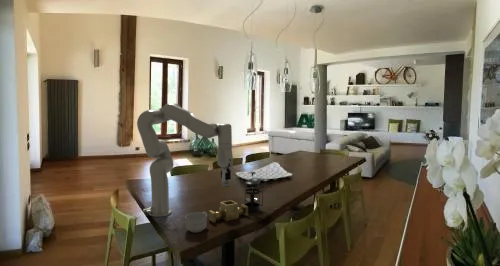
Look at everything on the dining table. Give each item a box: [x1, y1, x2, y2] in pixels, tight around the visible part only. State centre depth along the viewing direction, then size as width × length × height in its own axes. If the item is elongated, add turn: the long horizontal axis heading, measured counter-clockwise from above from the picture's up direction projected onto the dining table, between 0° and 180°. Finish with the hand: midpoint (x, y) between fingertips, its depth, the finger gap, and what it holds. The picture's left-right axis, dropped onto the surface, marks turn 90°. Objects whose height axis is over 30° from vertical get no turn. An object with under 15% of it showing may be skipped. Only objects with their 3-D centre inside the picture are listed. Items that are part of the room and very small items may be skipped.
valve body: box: [208, 199, 249, 224], centre depth 186 cm, size 22×8×8 cm, turn 123°
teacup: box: [184, 211, 209, 234], centre depth 169 cm, size 14×11×8 cm
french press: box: [244, 171, 264, 213], centre depth 199 cm, size 12×9×23 cm
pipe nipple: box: [221, 166, 231, 188], centre depth 185 cm, size 4×4×12 cm
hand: (225, 178), depth 185 cm, fingers closed on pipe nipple, 4 cm apart
